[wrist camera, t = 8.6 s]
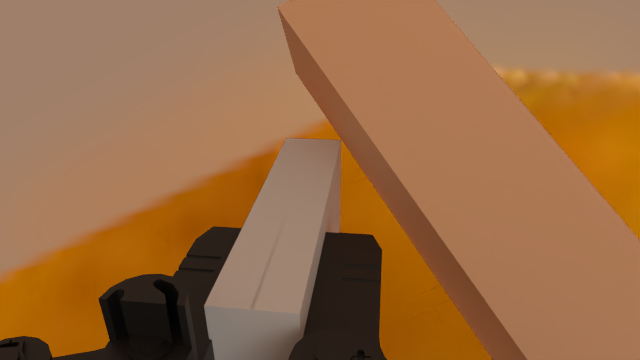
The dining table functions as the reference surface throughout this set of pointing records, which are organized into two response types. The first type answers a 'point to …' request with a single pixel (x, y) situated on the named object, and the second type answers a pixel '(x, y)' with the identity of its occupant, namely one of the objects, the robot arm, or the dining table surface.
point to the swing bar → (472, 179)
